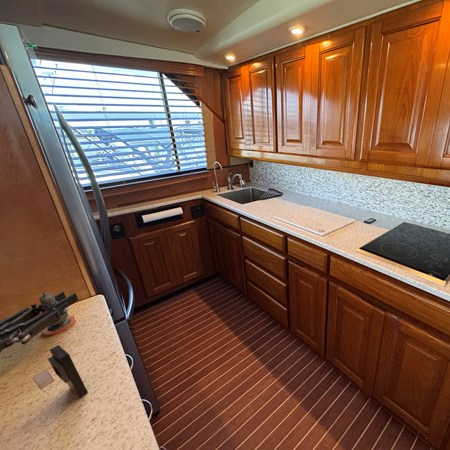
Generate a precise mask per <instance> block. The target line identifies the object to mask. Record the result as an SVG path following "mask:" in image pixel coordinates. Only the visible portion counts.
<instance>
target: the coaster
mask: <svg viewBox="0 0 450 450" xmlns="http://www.w3.org/2000/svg"><path fill="white" fill-rule="evenodd" d="M67 318H70V319H71V322H70V323H69V324H68V325H67V326H65V327H63V328H61V329H59V330H56V331H48V327H49V326H48V327H47V328H45V329H44V330H42V331H41V333H42V334H43V336H47V337H48V336H54V335H57V334H61V333H63V332H65V331H67V330H69V329H70V328H71V327H73V326H74V325H75V324H76V323H77V321H78V320H77V317H76V316H74V315H68V316H67Z"/></svg>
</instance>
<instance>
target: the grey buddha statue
mask: <svg viewBox="0 0 450 450" xmlns="http://www.w3.org/2000/svg"><path fill="white" fill-rule="evenodd" d="M54 296H55V295H54V294H53V293H50V292H49V293H47V292H45V291H43V292H42V295H41V296H39V299H38V300H39V302H40V304H42V309H44V311H45V312H46V311H48V310H50V309H52V308H51V306H53V305H55V304H56V303H58V301H56V300H55V298H54ZM60 316H61V318H59V319H58V320H57V321H55V322H54V323H52V324H51V325H50V326H49V327H48V331H56V330H59V329H61V328H63V327H65V326H67V325H68V324H69V323H70V322H71V319H70V318H67V316H69V309H67V308H66V309H64V310H63V311H61V312H60Z"/></svg>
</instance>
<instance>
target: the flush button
mask: <svg viewBox="0 0 450 450" xmlns="http://www.w3.org/2000/svg"><path fill="white" fill-rule="evenodd" d="M32 380H33V382H34V383H35V385H36V386H37V388H38V389H39V390H40V391H41V390H44V388H47V387H48V386H49V385H51V384H53V383H54V382H55V379H54V378H53V376H52V375H51V373H50V372H49V371H48V370H47V369H44V370H42V371H41V372H39V373H38V374H36V375H35V376H33V377H32Z"/></svg>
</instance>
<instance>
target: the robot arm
mask: <svg viewBox="0 0 450 450" xmlns="http://www.w3.org/2000/svg"><path fill="white" fill-rule="evenodd" d="M53 296H54V298H55V300H56V301H58V303H56V304H55V305H53V306H51V308H52V309H50V310H48V311H46V312H45V311H44V309H42V304H41V303H40V304H38V305H37V304H36V303H33V304H31V305H30V306H28V307H24V308H23V309H20V310H19V311H16V312H15V313H13V314H11V315H10V316H8V317H6V318H3V319H2V320H0V354H1V353H2V352H3V351H4V350H6V349H8V348H10V347H12V346H13V345H15V344H18V343H20V344H21V345H23V346H24V345H26V344H28V343H29V342H30V341H31V340H32V339H33V338H34V337H35V336H37V335H39V333H42V330H44V329H45V328H47V327H48V326H50V325H51V324H52V323H54V322H55V321H57V320H58V319H59V318H61V316H60V312H61V311H63V310H64V309H67V308H69V307H70V306H72V305H74V304H75V303H76V302H78V301H79V297H78V295H77V293H76V292H73V293H71V294H70V295H68V296H67V295H66V294H65V292H64V291H61V292H59V293H57V294H55V295H53Z"/></svg>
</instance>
